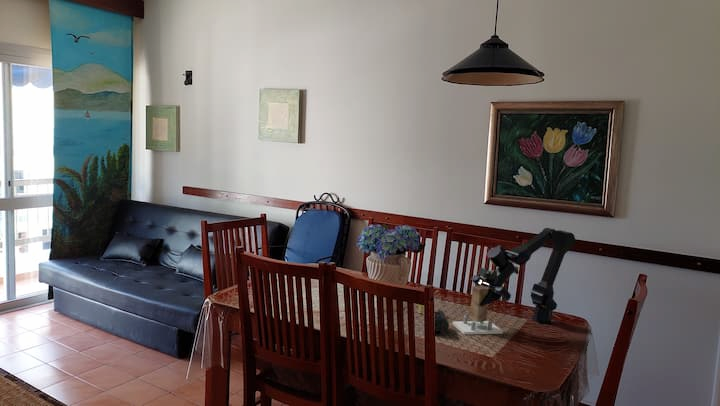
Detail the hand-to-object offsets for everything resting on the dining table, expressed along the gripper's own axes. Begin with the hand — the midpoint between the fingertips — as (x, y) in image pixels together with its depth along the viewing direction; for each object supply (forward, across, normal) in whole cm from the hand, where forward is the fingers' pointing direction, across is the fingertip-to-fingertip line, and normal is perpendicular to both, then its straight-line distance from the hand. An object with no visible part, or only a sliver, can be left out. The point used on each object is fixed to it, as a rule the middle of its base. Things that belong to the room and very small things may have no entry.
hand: (476, 303), depth 195 cm
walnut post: (+4, 0, +6) cm, 7 cm away
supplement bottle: (+14, -22, +1) cm, 26 cm away
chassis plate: (+6, 0, +8) cm, 10 cm away
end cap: (+18, -2, -4) cm, 19 cm away
